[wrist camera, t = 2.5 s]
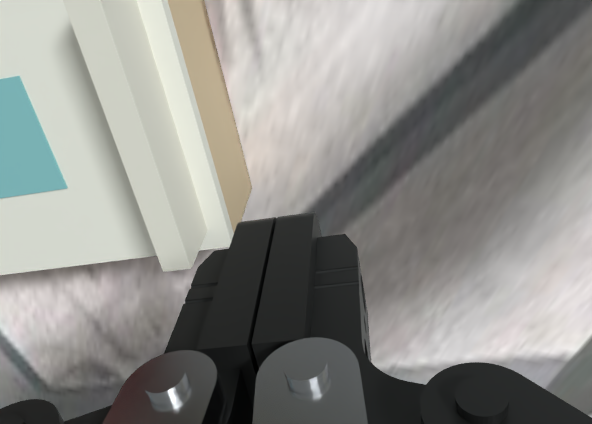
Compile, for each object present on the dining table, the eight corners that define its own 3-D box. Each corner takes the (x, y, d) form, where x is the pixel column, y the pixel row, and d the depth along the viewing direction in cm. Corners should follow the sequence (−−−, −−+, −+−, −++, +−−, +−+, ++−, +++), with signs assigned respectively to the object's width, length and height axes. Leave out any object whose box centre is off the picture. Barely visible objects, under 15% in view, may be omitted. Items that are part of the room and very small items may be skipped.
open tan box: (184, -76, 24) (147, -72, 19) (251, 187, 30) (235, 237, 25) (-164, 2, 27) (-267, 21, 22) (-39, 228, 33) (-100, 280, 28)
